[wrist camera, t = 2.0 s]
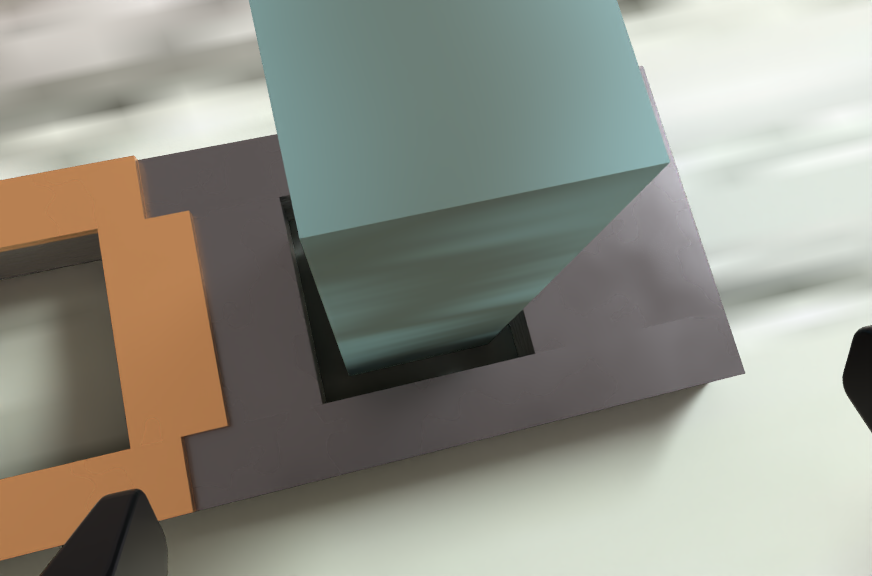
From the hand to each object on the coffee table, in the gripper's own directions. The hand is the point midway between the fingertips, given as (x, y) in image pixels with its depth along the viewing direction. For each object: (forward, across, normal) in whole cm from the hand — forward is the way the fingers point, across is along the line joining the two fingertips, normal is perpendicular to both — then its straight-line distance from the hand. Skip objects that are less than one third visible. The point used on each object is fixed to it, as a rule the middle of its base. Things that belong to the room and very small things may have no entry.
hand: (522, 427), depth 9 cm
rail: (+11, +5, +5) cm, 13 cm away
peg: (+11, 0, +5) cm, 12 cm away
